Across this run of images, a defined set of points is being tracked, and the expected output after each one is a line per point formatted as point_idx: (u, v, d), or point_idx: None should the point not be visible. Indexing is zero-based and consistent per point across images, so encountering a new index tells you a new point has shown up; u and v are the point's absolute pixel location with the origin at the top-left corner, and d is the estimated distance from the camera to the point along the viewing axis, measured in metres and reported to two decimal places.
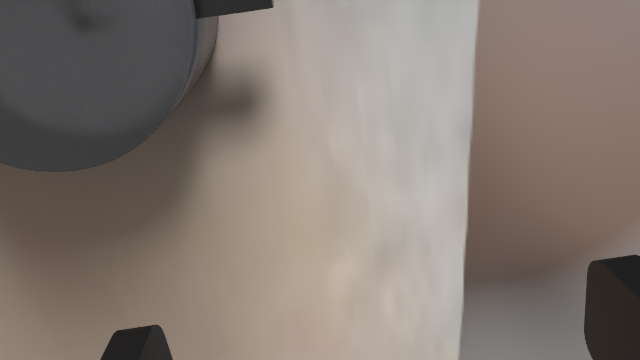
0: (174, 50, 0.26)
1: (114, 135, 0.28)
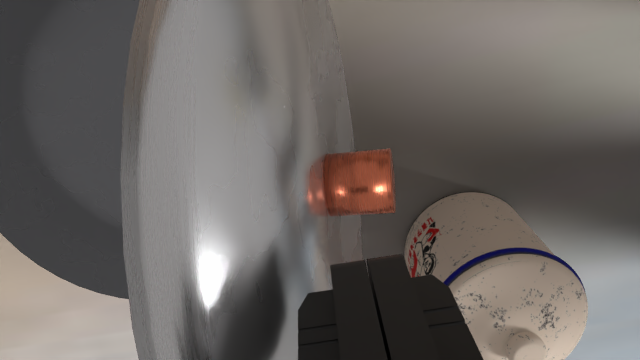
0: None
1: (20, 223, 0.24)
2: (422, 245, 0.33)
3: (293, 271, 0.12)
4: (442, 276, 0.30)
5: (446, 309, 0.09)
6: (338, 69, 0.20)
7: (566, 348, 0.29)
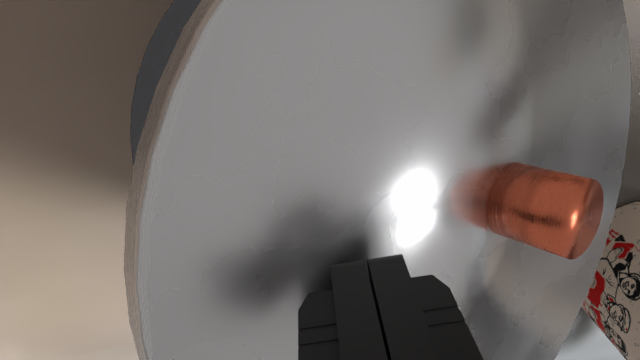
0: None
1: None
2: (610, 262, 0.29)
3: None
4: None
5: (446, 309, 0.09)
6: (609, 57, 0.16)
7: None
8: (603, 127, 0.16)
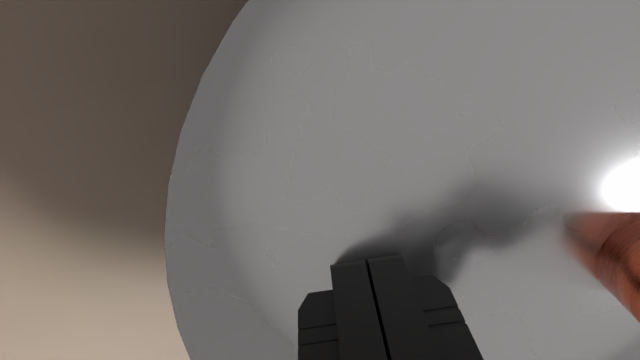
0: None
1: None
2: None
3: None
4: None
5: (446, 309, 0.09)
6: None
7: None
8: None
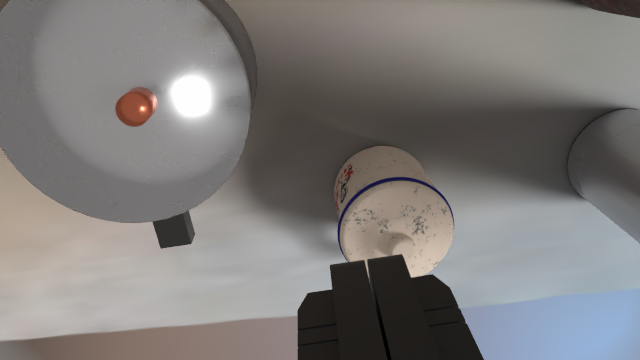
0: None
1: None
2: (341, 183, 0.44)
3: (56, 110, 0.33)
4: (348, 200, 0.40)
5: (446, 309, 0.09)
6: (211, 47, 0.32)
7: (438, 253, 0.40)
8: (217, 82, 0.33)
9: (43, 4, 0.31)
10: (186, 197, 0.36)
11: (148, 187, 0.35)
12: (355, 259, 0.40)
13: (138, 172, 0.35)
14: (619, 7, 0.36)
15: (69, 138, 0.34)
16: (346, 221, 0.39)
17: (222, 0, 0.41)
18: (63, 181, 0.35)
